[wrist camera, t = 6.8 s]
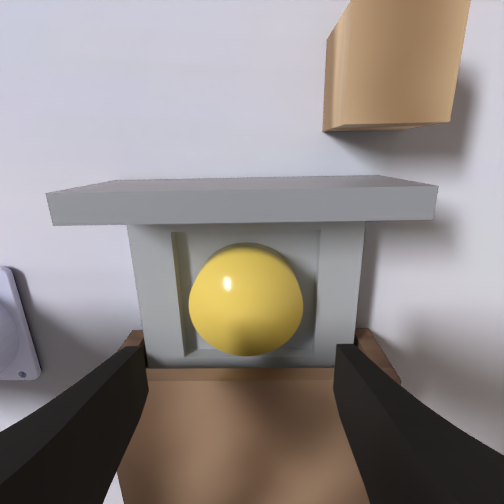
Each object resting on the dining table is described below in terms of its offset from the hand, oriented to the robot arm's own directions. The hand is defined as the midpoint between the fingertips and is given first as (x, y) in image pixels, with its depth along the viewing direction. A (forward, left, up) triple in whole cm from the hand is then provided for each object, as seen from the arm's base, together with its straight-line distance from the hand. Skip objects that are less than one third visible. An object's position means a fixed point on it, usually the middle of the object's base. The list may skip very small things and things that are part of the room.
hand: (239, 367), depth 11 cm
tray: (0, +1, -7) cm, 7 cm away
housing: (0, -8, -7) cm, 11 cm away
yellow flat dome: (0, 0, -6) cm, 6 cm away
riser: (+6, +11, -7) cm, 14 cm away
